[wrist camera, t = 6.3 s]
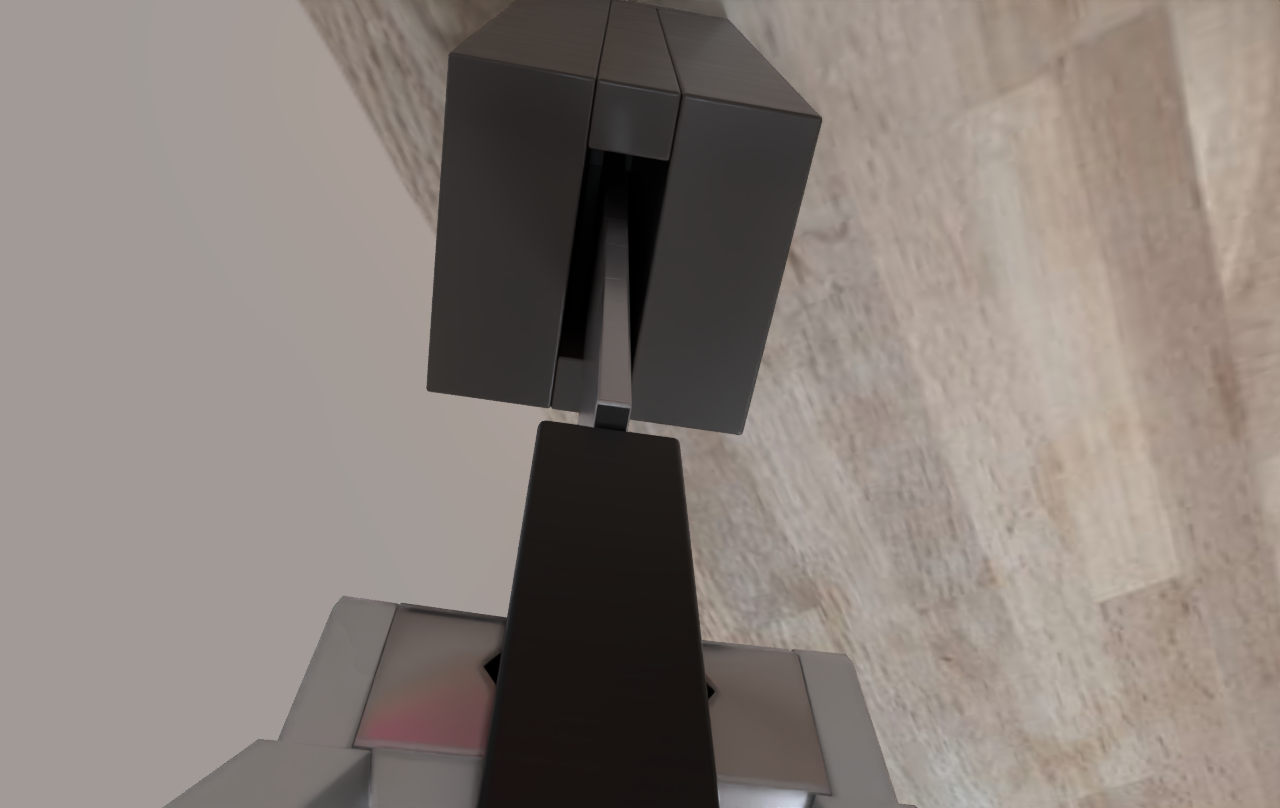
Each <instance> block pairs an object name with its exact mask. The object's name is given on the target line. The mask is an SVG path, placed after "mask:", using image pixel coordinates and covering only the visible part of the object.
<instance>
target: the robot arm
mask: <svg viewBox="0 0 1280 808" xmlns="http://www.w3.org/2000/svg"><path fill="white" fill-rule="evenodd" d="M506 622H507V618H506V617H499V616H492V615H484V614H478V613H471V612H463V611H456V610H448V609H442V608H435V607H427V606H420V605H413V604H406V603H401V604H396V603H391V602H384V601H376V600H369V599H362V598H355V597H348V596H343V597H342V598H341V599H340V600H339V601H338V602H337V603H336V604H335V606H334V607H333V609H332V611H331V614H330V616H329V618H328V621H327V623H326V625H325V628H324V630H323V633H322V635H321V638H320V640H319V642H318V645H317V647H316V649H315V652H314V654H313V657H312V659H311V661H310V664H309V666H308V669H307V671H306V673H305V676H304V678H303V681H302V683H301V685H300V688H299V690H298V693H297V695H296V697H295V700H294V702H293V705H292V707H291V709H290V712H289V714H288V717H287V719H286V721H285V724H284V726H283V729H282V731H281V734H280V736H279V738H278V741H274V740H262V739H258V740H257V741H255V742H254V743H253V744H251V745H250V746H248V747H247V748H246V749H244V750H243V751H241V752H240V753H239V754H237V755H236V756H234V757H233V758H232V759H230V760H229V761H227V762H226V763H224V764H223V765H222V766H220V767H219V768H217V769H216V770H215V771H213V772H212V773H210V774H209V775H208V776H206V777H205V778H203V779H202V780H201V781H199V782H198V783H197V784H195V785H194V786H192V787H191V788H189V789H188V790H187V791H185V792H184V793H183V794H181V795H180V796H178V797H177V798H176V799H174V800H173V801H171V802H170V803H169V804H167V805H166V806H164V807H163V808H477V802H478V796H479V790H480V783H481V777H482V771H483V765H484V758H485V752H486V746H487V740H488V734H489V727H490V721H491V715H492V709H493V703H494V696H495V690H496V684H497V678H498V672H499V665H500V659H501V653H502V647H503V640H504V634H505V628H506ZM702 648H703V657H704V666H705V675H706V684H707V693H708V702H709V711H710V720H711V729H712V738H713V747H714V755H715V764H716V773H717V782H718V791H719V800H720V808H917V807H916V806H914V805H906V804H898V801H897V798H896V795H895V792H894V788H893V785H892V782H891V779H890V776H889V773H888V770H887V767H886V763H885V760H884V757H883V754H882V751H881V748H880V745H879V742H878V738H877V735H876V732H875V729H874V726H873V723H872V720H871V717H870V713H869V710H868V707H867V704H866V701H865V698H864V695H863V691H862V688H861V685H860V682H859V679H858V676H857V673H856V670H855V666H854V663H853V662H852V661H851V660H850V658H849V657H848V656H847V655H846V654H839V653H828V652H818V651H808V650H798V649H793V650H792V651H790V650H788V649H780V648H771V647H761V646H752V645H743V644H734V643H725V642H715V641H706V640H702Z"/></svg>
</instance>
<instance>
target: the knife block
mask: <svg viewBox="0 0 1280 808" xmlns="http://www.w3.org/2000/svg"><path fill="white" fill-rule="evenodd" d="M821 124H822V117H821V116H820V115H819V114H818V113H817V112H816V111H815V110H814V109H813V108H812V107H811V106H810V105H809V104H808V103H807V102H806V101H805V100H804V99H803V97H802V96H801V95H800V94H799V93H798V92H797V91H796V90H795V89H794V88H793V87H792V86H791V85H790V84H789V83H788V82H787V81H786V80H785V79H784V77H783V76H782V75H781V74H780V73H779V72H778V71H777V70H776V69H775V68H774V67H773V66H772V65H771V64H770V63H769V62H768V61H767V60H766V59H765V57H764V56H763V55H762V54H761V53H760V52H759V51H758V50H757V49H756V48H755V47H754V46H753V45H752V44H751V43H750V42H749V41H748V40H747V39H746V37H745V36H744V35H743V34H742V33H741V32H740V31H739V30H738V29H737V28H736V27H735V26H734V25H733V24H732V23H731V22H730V20H728V19H723V18H718V17H712V16H707V15H701V14H696V13H690V12H685V11H679V10H674V9H668V8H663V7H657V6H652V5H646V4H641V3H636V2H630V1H625V0H517V1H515V2H514V3H513V4H512V5H510V6H509V7H508V8H506V9H505V10H504V11H503V12H501V13H500V14H499V15H497V16H496V17H495V18H494V19H492V20H491V21H490V22H489V23H487V24H486V25H485V26H483V27H482V28H481V29H480V30H478V31H477V32H476V33H474V34H473V35H472V36H471V37H469V38H468V39H467V40H465V41H464V42H463V43H462V44H460V45H459V46H458V47H457V48H455V49H454V50H453V51H451V52H450V54H449V58H448V73H447V88H446V103H445V118H444V133H443V148H442V163H441V178H440V193H439V208H438V223H437V238H436V253H435V268H434V283H433V298H432V313H431V329H430V343H429V359H428V373H427V374H428V375H427V391H430V392H436V393H444V394H451V395H458V396H465V397H472V398H479V399H486V400H493V401H500V402H507V403H515V404H521V405H528V406H535V407H542V408H550V406H551V407H552V409H557V410H564V411H571V412H578V413H579V405H580V393H581V381H582V369H583V357H584V345H585V333H586V321H587V309H588V297H589V285H590V273H591V261H592V249H593V237H594V225H595V213H596V203H597V196H598V189H599V183H600V176H601V169H602V163H603V156H604V151H609V152H615V153H621V154H626V171H627V215H628V259H629V303H630V346H631V390H632V410H631V415H630V420H637V421H644V422H651V423H658V424H665V425H673V426H680V427H687V428H694V429H701V430H708V431H715V432H722V433H729V434H736V435H741V434H742V433H743V430H744V426H745V422H746V418H747V414H748V410H749V406H750V403H751V399H752V395H753V391H754V387H755V383H756V379H757V375H758V371H759V367H760V363H761V359H762V355H763V351H764V348H765V344H766V340H767V336H768V332H769V328H770V324H771V320H772V316H773V312H774V308H775V304H776V300H777V297H778V293H779V289H780V285H781V281H782V277H783V273H784V269H785V265H786V261H787V257H788V253H789V249H790V245H791V242H792V238H793V234H794V230H795V226H796V222H797V218H798V214H799V210H800V206H801V202H802V198H803V194H804V190H805V187H806V183H807V179H808V175H809V171H810V167H811V163H812V159H813V155H814V151H815V147H816V143H817V139H818V135H819V132H820V128H821Z"/></svg>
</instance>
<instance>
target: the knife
mask: <svg viewBox="0 0 1280 808" xmlns="http://www.w3.org/2000/svg"><path fill="white" fill-rule="evenodd" d="M631 410H632V390H631V346H630V303H629V259H628V215H627V171H626V154H621V153H615V152H609V151H604V156H603V163H602V169H601V176H600V183H599V189H598V196H597V203H596V213H595V225H594V237H593V249H592V261H591V273H590V285H589V297H588V309H587V321H586V333H585V345H584V357H583V369H582V381H581V393H580V405H579V417H578V425H574V424H567V423H560V422H553V421H542V422H541V423H540V424H539V426H538V429H537V436H536V442H535V448H534V454H533V460H532V467H531V473H530V479H529V485H528V492H527V498H526V505H525V510H524V516H523V522H522V529H521V535H520V541H519V547H518V554H517V560H516V566H515V572H514V579H513V585H512V591H511V597H510V603H509V610H508V616H507V622H506V628H505V634H504V640H503V647H502V653H501V659H500V665H499V672H498V678H497V684H496V690H495V696H494V703H493V709H492V715H491V721H490V727H489V734H488V740H487V746H486V752H485V758H484V765H483V771H482V777H481V783H480V790H479V796H478V802H477V808H720V800H719V791H718V782H717V773H716V764H715V755H714V747H713V738H712V729H711V720H710V711H709V702H708V693H707V684H706V675H705V666H704V657H703V648H702V639H701V630H700V621H699V612H698V603H697V594H696V585H695V576H694V567H693V558H692V549H691V540H690V531H689V522H688V513H687V504H686V495H685V486H684V477H683V468H682V459H681V450H680V444H679V441H678V440H677V439H675V438H669V437H662V436H655V435H647V434H640V433H633V432H627V431H628V426H629V420H630V415H631Z"/></svg>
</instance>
